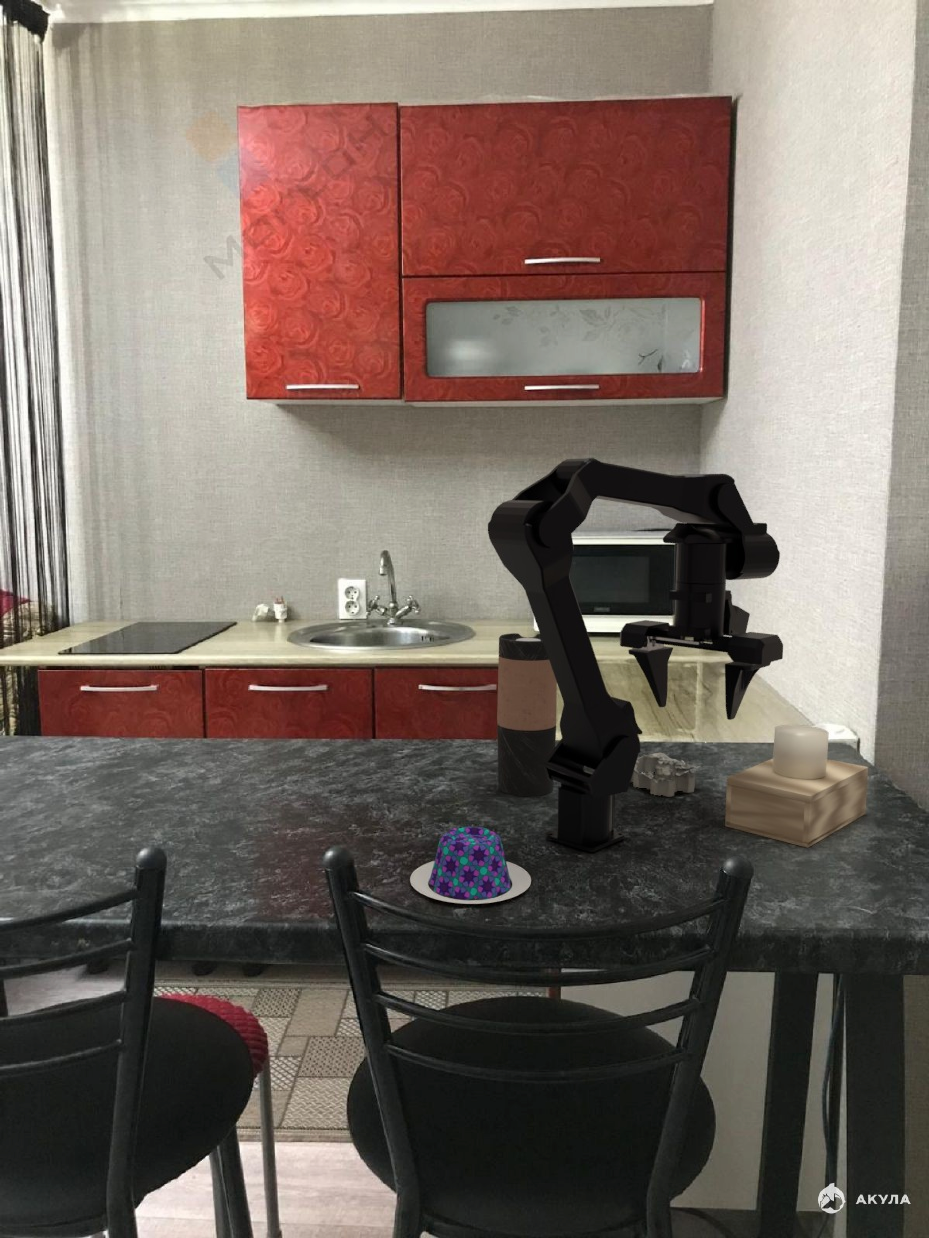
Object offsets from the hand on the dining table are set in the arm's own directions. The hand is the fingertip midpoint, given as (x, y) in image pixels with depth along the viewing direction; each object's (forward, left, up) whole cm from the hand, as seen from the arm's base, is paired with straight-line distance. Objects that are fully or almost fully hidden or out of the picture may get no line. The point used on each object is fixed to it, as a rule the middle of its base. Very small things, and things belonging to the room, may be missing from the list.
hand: (695, 712), depth 118 cm
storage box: (+7, -10, -12) cm, 17 cm away
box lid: (+7, -10, -7) cm, 14 cm away
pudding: (-34, +5, -13) cm, 37 cm away
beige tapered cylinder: (+7, -10, -7) cm, 14 cm away
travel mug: (-6, +21, -13) cm, 25 cm away
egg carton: (+8, +10, -13) cm, 18 cm away
